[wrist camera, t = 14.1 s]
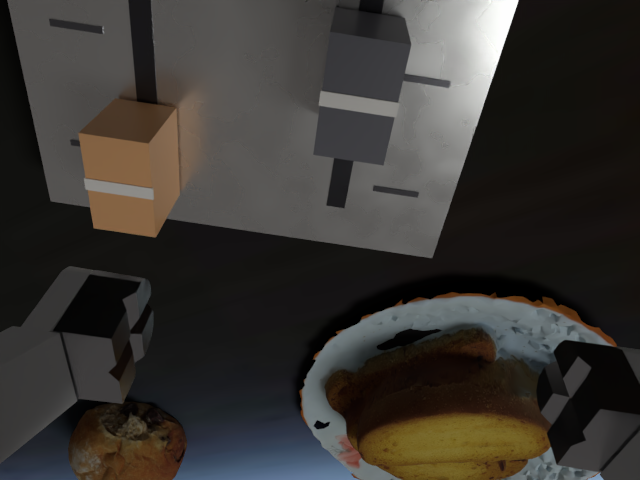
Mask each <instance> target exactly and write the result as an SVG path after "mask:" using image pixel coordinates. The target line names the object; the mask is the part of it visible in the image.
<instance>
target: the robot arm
mask: <svg viewBox="0 0 640 480" xmlns="http://www.w3.org/2000/svg"><path fill="white" fill-rule="evenodd" d="M150 295H151V289H150V282H149V280H147V279H145V278H139V277H133V276H127V275H121V274H115V273H110V272H104V271H98V270H95V271H94V270H89V269H83V268H77V267H71V266H69V267H68V268H66V269H64V270H63V271H62V272H61V273H60V274H59V276H58V277H57V278H56V280H55V281H54V283H53V284H52V285H51V287H50V288H49V289H48V291H47V292H46V293H45V295H44V296H43V297H42V299H41V300H40V302H39V303H38V304H37V306H36V307H35V308H34V310H33V311H32V312H31V314H30V315H29V317H28V318H27V319H26V321H25V322H24V323H23V325H22V326H21V327H14V326H12V327H10V328H8V329H6V330H4V331H2V332H0V463H1V462H3V461H4V460H5V459H6V458H8V457H9V456H10V455H11V454H12V453H14V452H15V451H16V450H17V449H19V448H20V447H21V446H22V445H24V444H25V443H26V442H27V441H29V440H30V439H31V438H32V437H34V436H35V435H36V434H37V433H38V432H40V431H41V430H42V429H43V428H45V427H46V426H47V425H48V424H50V423H51V422H52V421H53V420H55V419H56V418H57V417H58V416H60V415H61V414H62V413H63V412H65V411H66V410H67V409H68V408H69V407H71V406H72V405H73V404H74V403H76V402H77V399H85V400H94V401H103V402H112V403H121V404H123V402H124V400H125V398H126V396H127V393H128V391H129V389H130V387H131V384H132V382H133V380H134V378H135V376H136V372H135V364H134V363H135V362H136V361H138V360H139V359H141V358H142V357H144V355H145V353H146V350H147V348H148V346H149V343H150V339H151V335H152V331H153V310H152V309H151V307H150V306H149V305H148V304H147V301H148V299H149V297H150ZM554 355H555V358H556V361H554V362H552V363H550V364H548V365H547V366H545V367H544V368H543V370H542V372H541V374H540V375H539V377H538V383H537V389H536V394H537V403H538V406H539V409H540V413H541V414H542V415H543V416H544V417H545V418H546V419H547V420H548V421H549V422H550V423H551V426H550V428H549V430H548V432H547V436H548V439H549V442H550V445H551V448H552V452H553V455H554V458H555V461H556V464H557V465H559V466H565V467H571V468H577V469H583V470H589V471H595V472H601V474H600V475H601V477H602V478H603V479H604V480H640V350H639V349H631V348H624V347H613V346H608V345H601V344H594V343H586V342H579V341H572V340H564V341H562V342H561V343H559V344H558V346H557V347H556V349H555V350H554Z"/></svg>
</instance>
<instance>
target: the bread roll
mask: <svg viewBox="0 0 640 480" xmlns="http://www.w3.org/2000/svg"><path fill="white" fill-rule="evenodd" d="M186 447H187V440H186V436H185V433H184V430H183V427H182V426H181V425H180V423H179V422H178V421H177V420H176V419H175V418H173V417H172V416H170V415H168V414H166V413H165V412H163V411H162V410H161V409H159V408H155V407H153V406H151V405H150V404H146V403H138V402H123V404H121V403H108V404H101V405H99V406H96V407H95V408H93V409H90V410H87V411H86V412H85V414H84V415H83V416H82V418H81V419H80V420H79V422H78V424H77V426H76V429H75V430H74V432H73V433H72V435H71V438H70V442H69V448H68V452H69V461H70V465H71V467H72V470H73V472H74V473H75V475H76V477H77V478H78V479H79V480H172V479H173V478H174V477H175V476H176V473H177V471H178V469H179V467H180V465H181V463H182V460H183V457H184V454H185V451H186Z"/></svg>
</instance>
